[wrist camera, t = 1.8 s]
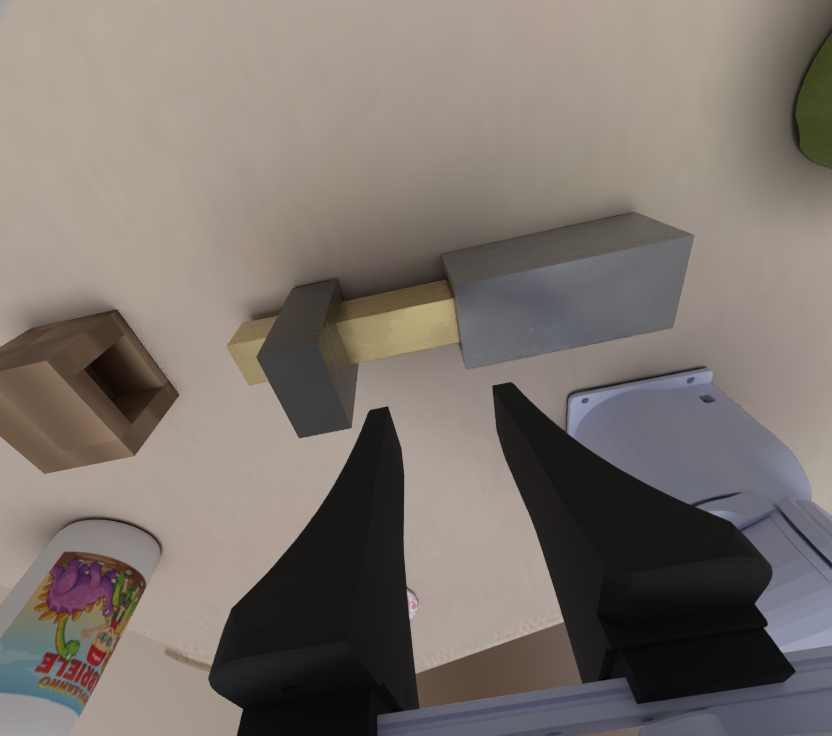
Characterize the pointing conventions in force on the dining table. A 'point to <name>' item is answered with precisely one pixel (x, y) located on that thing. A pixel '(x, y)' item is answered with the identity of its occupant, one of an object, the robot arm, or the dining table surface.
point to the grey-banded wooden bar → (338, 345)
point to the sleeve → (567, 287)
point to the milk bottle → (68, 623)
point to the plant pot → (817, 108)
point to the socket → (80, 393)
